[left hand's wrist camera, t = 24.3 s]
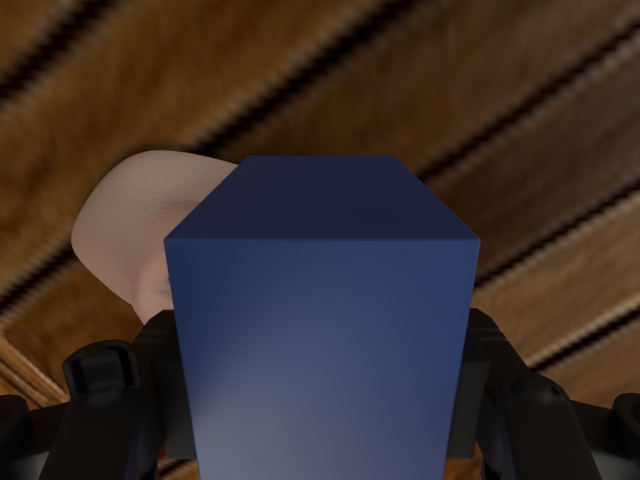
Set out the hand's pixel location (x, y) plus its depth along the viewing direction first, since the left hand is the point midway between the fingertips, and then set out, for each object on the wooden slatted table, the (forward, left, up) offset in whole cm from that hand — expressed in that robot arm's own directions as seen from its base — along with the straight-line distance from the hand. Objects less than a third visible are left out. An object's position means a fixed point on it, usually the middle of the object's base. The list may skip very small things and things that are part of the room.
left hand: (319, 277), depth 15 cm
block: (0, 0, -2) cm, 2 cm away
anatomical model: (+7, -3, -9) cm, 12 cm away
